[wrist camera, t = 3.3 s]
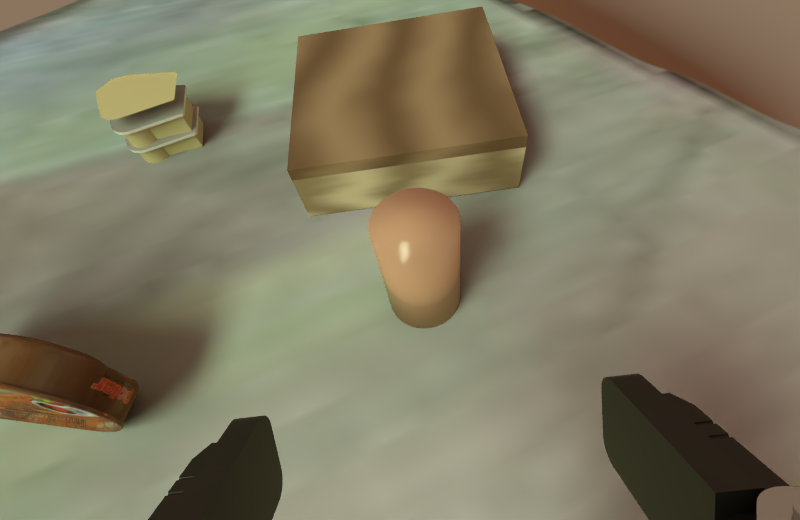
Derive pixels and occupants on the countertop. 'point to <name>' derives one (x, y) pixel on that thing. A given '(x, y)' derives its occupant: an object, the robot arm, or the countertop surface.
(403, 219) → the peach domed capsule
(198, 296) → the countertop surface
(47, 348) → the tin
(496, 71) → the plinth
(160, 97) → the stacked layers on plate
